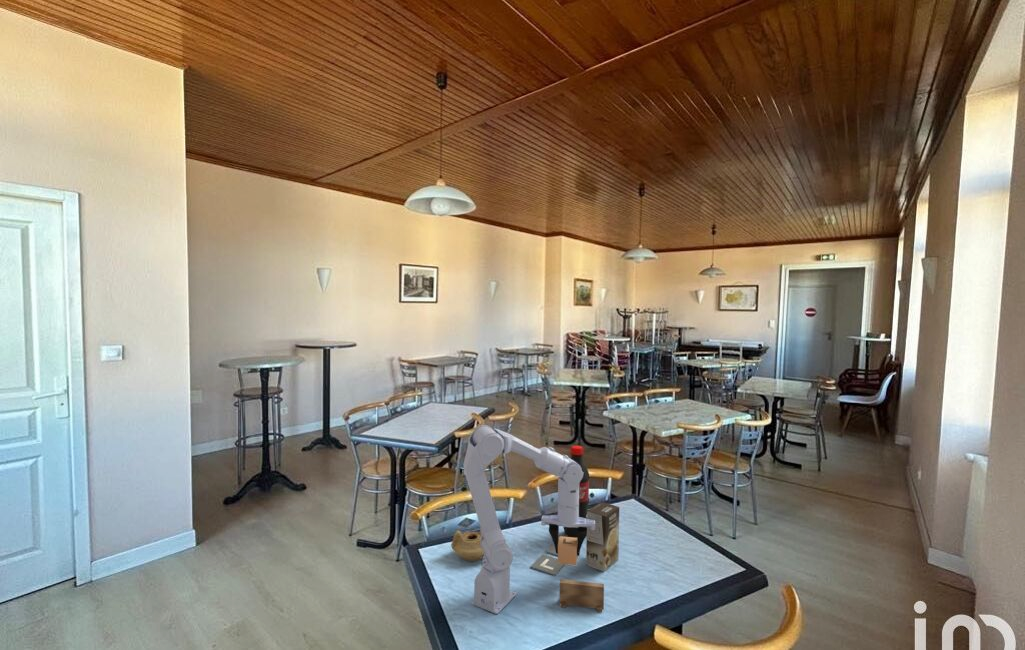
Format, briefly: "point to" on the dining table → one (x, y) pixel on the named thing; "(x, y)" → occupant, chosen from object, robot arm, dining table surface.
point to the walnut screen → (581, 594)
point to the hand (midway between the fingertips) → (567, 552)
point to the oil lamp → (468, 545)
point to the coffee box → (603, 536)
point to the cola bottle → (580, 490)
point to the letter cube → (567, 550)
